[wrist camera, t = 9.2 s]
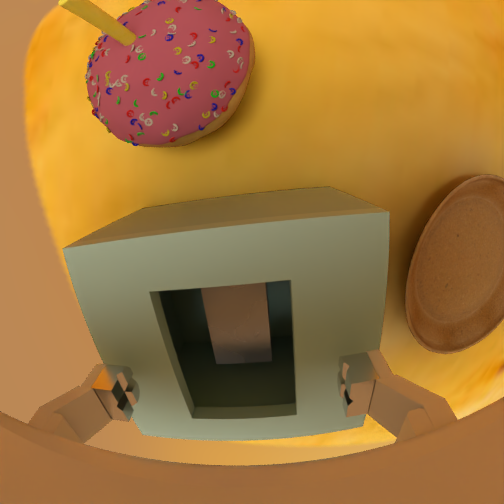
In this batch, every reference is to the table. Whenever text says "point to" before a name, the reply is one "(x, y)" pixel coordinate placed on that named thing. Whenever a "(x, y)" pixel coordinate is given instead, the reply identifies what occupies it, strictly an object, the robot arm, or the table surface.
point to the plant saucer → (459, 269)
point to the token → (239, 322)
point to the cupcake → (166, 69)
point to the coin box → (237, 273)
